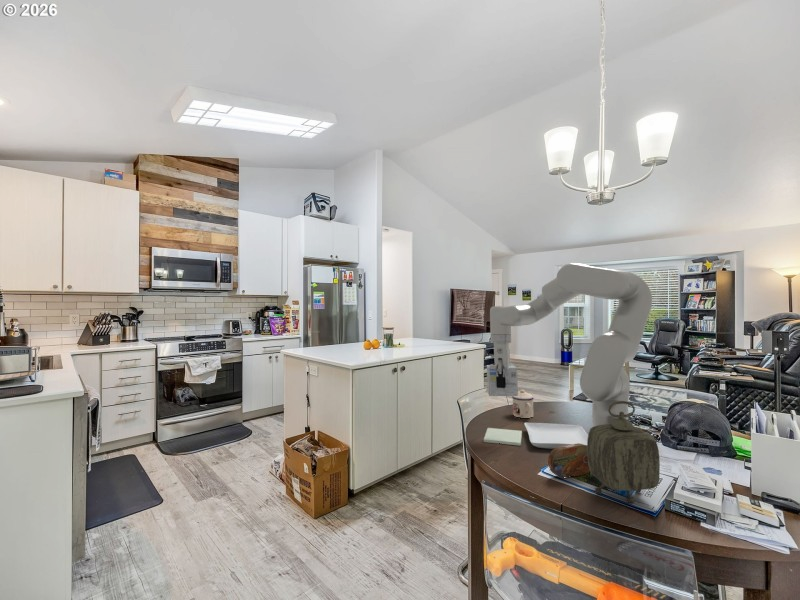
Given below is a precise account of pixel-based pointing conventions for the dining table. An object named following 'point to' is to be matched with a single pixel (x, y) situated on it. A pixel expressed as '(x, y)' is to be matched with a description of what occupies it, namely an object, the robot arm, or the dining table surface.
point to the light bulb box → (511, 382)
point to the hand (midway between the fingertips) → (502, 384)
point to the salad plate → (555, 435)
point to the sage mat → (503, 436)
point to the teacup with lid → (523, 405)
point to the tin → (569, 460)
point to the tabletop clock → (623, 455)
